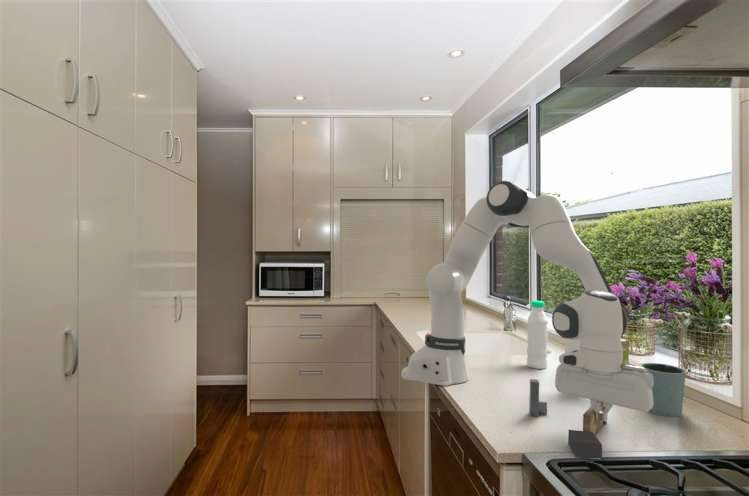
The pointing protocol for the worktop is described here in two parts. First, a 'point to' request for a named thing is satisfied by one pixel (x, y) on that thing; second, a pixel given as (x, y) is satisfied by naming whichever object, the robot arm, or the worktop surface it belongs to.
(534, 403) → the post
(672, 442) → the worktop surface
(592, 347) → the robot arm
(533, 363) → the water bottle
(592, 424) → the gate
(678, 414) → the grey green cup
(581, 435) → the block
